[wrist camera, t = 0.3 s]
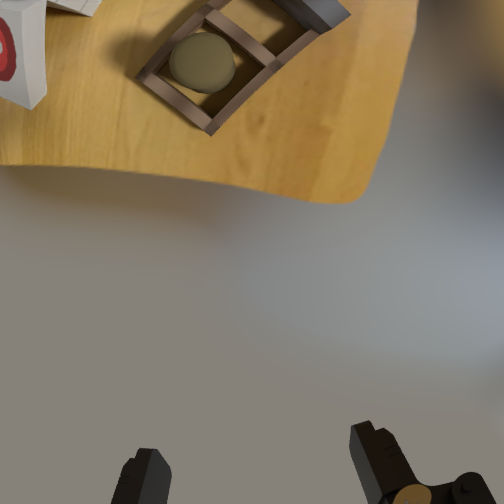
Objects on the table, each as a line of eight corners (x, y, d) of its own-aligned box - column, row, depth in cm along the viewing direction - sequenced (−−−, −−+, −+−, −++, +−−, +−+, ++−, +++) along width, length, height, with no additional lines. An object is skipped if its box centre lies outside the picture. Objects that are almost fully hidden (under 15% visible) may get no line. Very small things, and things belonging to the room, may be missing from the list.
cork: (179, 93, 27) (157, 94, 18) (184, 45, 24) (164, 24, 15) (232, 95, 28) (235, 96, 19) (238, 47, 25) (243, 25, 16)
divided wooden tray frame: (140, 78, 25) (122, 76, 20) (262, -33, 19) (269, -54, 14) (212, 133, 30) (208, 142, 25) (331, 25, 23) (351, 14, 18)
